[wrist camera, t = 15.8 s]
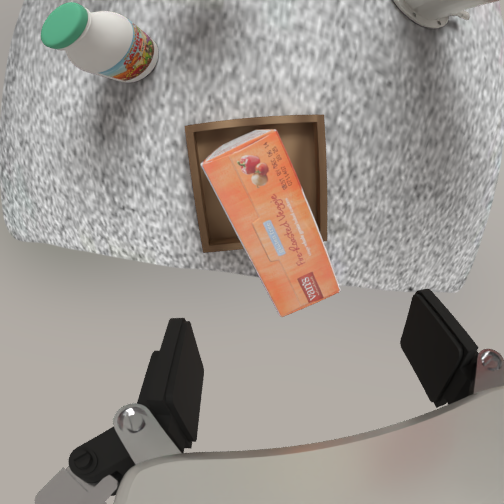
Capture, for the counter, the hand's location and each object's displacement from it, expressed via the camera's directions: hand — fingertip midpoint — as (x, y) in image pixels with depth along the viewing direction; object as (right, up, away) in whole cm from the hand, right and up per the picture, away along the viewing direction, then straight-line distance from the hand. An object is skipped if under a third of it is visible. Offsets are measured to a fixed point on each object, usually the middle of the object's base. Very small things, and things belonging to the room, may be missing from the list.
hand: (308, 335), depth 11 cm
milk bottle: (-19, +31, +20) cm, 41 cm away
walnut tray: (-1, +13, +29) cm, 32 cm away
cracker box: (-1, +13, +28) cm, 31 cm away
